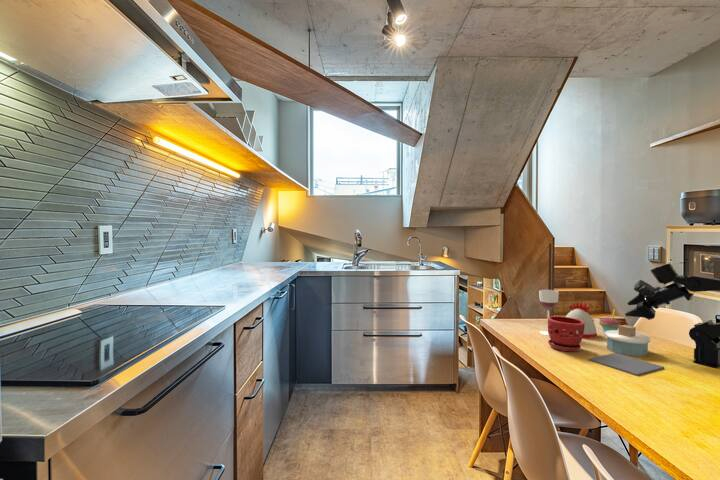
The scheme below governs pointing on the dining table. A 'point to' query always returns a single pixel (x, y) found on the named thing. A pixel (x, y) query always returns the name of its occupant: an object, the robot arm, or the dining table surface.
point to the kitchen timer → (583, 319)
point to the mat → (626, 364)
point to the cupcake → (610, 323)
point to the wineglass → (548, 302)
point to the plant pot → (565, 333)
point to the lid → (627, 335)
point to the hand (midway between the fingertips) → (626, 309)
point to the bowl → (627, 348)
